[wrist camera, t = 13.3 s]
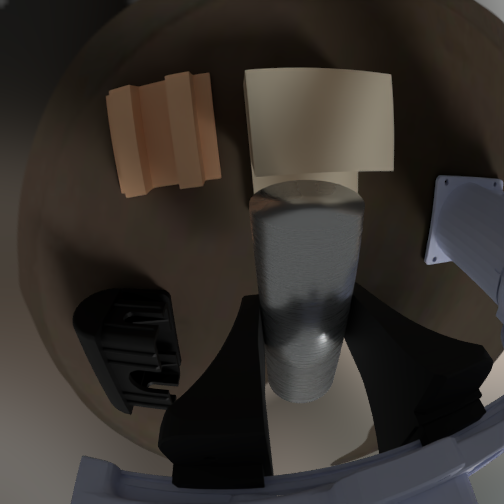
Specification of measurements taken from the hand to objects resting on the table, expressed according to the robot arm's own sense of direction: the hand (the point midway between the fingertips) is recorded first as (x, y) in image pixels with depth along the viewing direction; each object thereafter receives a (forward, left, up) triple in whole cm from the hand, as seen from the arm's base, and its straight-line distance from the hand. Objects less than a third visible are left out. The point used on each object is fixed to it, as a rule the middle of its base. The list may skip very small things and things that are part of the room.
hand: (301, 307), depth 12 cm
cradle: (+7, -8, -9) cm, 14 cm away
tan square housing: (-2, -6, -9) cm, 11 cm away
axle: (0, 0, +1) cm, 1 cm away
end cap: (+13, +8, -9) cm, 18 cm away
